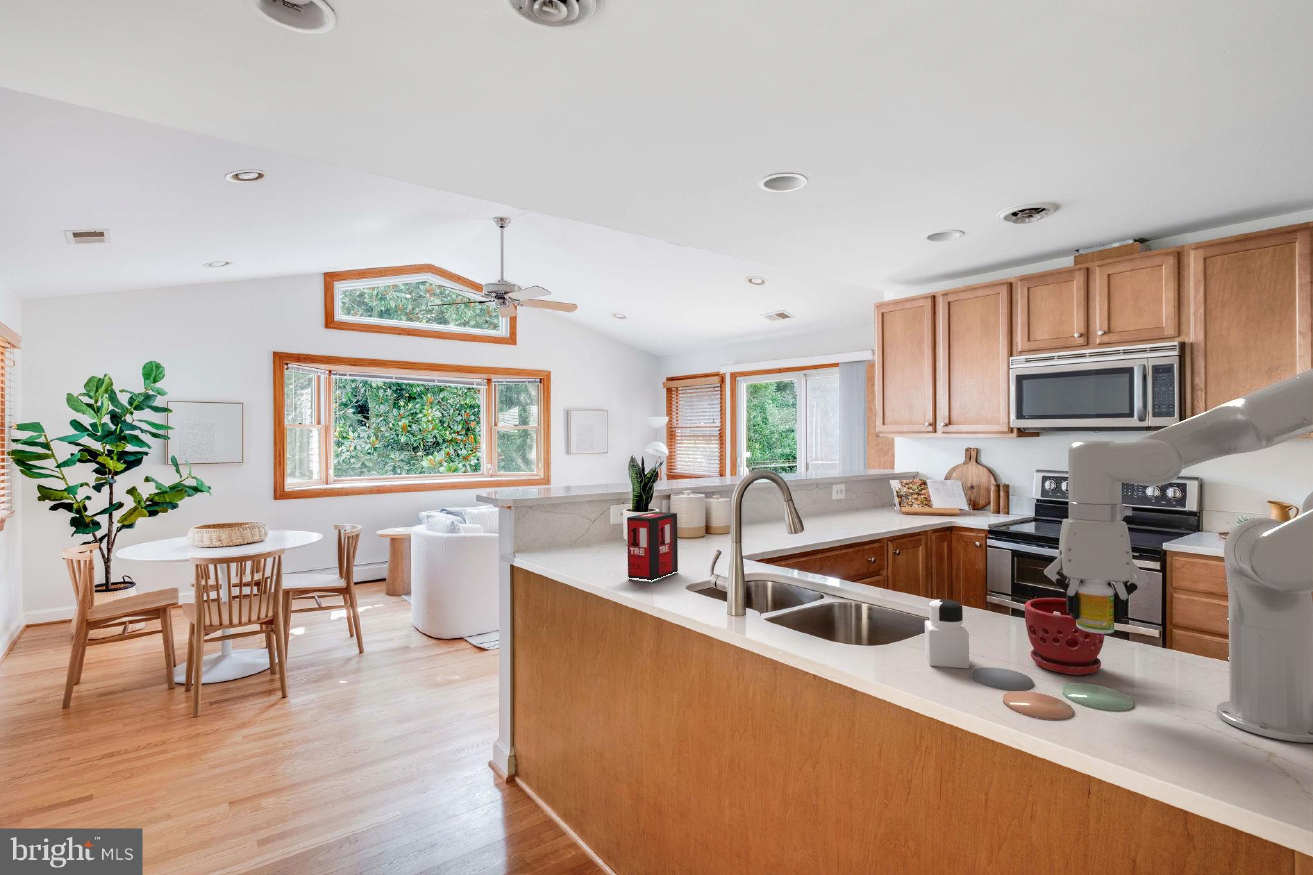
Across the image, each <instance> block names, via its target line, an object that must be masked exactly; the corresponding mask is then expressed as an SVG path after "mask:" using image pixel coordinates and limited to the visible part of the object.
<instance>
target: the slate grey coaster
mask: <svg viewBox="0 0 1313 875" xmlns="http://www.w3.org/2000/svg"><path fill="white" fill-rule="evenodd" d="M971 678H972V679H973V681H975V682H977V683H978V684H979V685H983V686H986V687H989V688H993V689H998V690H1005V691H1027V690H1029V689H1031V688H1032V687H1034V680H1033V679H1032V678H1031V677H1030V676H1028V675H1026V674H1025V673H1022V672H1019V671H1017V670H1012V669H1007V668H1002V667H1001V668H1000V667H979V668H976V669H973V670H972V671H971Z"/></svg>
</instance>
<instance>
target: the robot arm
mask: <svg viewBox="0 0 1313 875" xmlns="http://www.w3.org/2000/svg"><path fill="white" fill-rule="evenodd" d="M1312 432H1313V368H1310V369H1308V370H1307V369H1306V371H1302V372H1299V373H1298V374H1296V375H1293V376H1291V377H1288V378H1285V379H1283V380H1280V381H1277V382H1274V383H1273V384H1270V385H1268V386H1265V387H1263V388H1260V389H1258V390H1255V391H1253V392H1249V393H1248V394H1245V395H1242V396H1240V397H1237V398H1235V399H1233V400H1232V399H1231V400H1229V401H1227V402H1225V403H1222V404H1220V405H1218V406H1216V407H1213V408H1211V409H1209V410H1206V411H1205V412H1202V413H1200V414H1197V415H1194V416H1192V417H1189V418H1187V419H1185V420H1182V421H1179V422H1176V423H1174V424H1172V425H1168V426H1167V427H1164V428H1162V429H1159V430H1156V431H1153V432H1151V433H1148V434H1146V435H1144V436H1141V437H1139V438H1136V439H1134V440H1132V441H1129V442H1128V441H1127V442H1116V441H1112V440H1078V441H1075V442H1072V443H1071V444H1069V447H1068V450H1067V451H1068V452H1067V453H1068V454H1067V455H1068V459H1067V460H1068V464H1067V466H1068V467H1067V470H1068V472H1067V474H1068V476H1067V477H1068V493H1067V495H1068V518H1063V519H1062V522H1061V528H1060V533H1059V534H1060V535H1059V542H1058V544H1059V545H1058V557H1056V559H1054V561H1053V562H1051V564H1049V565H1048V566H1047V567H1046V568H1045V569H1044V570H1043V573H1044V575H1045V576H1047V577H1048V578H1049V579H1050V580H1051V581H1052V582H1054V584H1056V585H1057V586H1059V588H1061V590H1062V591H1064V592H1065V595H1066V598H1065V599H1066V610H1067V613H1070V615H1071V617H1072V618H1073V619H1076V620H1077V619H1079V597H1078V596H1077V595H1076V590H1077V587H1078V585H1079V584H1080V583H1081V581H1083V580H1093V579H1098V580H1104V581H1109V583H1110V584H1111V587H1112V588H1113V590H1114V623H1116V624H1122V618H1125V617H1126V600H1127V599H1128V598H1129V596H1131V595H1132V594H1133V593H1134V592H1136V591H1137V590H1138V588H1140V587H1142V586H1143V585H1145V584H1147V583H1148V582H1149V581H1150V578H1149V576H1147V575H1146V573H1145V572H1144V571H1143V570H1141V569H1140V568H1139V567H1138V566H1137V565H1136V564H1135V563H1134V561H1133V553H1132V547H1131V546H1132V544H1131V539H1130V532H1129V530H1128V529H1129V528H1128V526H1127V522H1125V521H1123V520H1124V518H1125V517H1126V516H1132V515H1133V508H1132V506H1130V507H1129V506H1127V505H1126V506H1125V505H1124V504H1123V501H1122V499H1123V498H1122V483H1125V484H1134V485H1141V486H1148V487H1159V486H1165V485H1168V484H1170V483H1172V482H1174V481H1175V480H1176V479H1177V478H1178V477H1179V476H1180V475H1181V473H1182V472H1183V470H1184V469H1188V468H1189V467H1192V466H1196V465H1198V464H1199V465H1200V464H1202V463H1205V462H1207V461H1212V460H1214V459H1218V458H1223V457H1226V456H1227V457H1228V456H1231V455H1239V454H1246V453H1251V452H1256V451H1260V450H1265V449H1269V448H1272V447H1275V446H1278V445H1279V444H1282V443H1286V442H1287V441H1291V440H1294V439H1296V438H1298V437H1301V436H1304V435H1306V434H1309V433H1312ZM1301 512H1302V513H1301V514H1299V515H1297V516H1295V517H1293V518H1292V519H1291V518H1290V519H1289V520H1288V521H1283V520H1279V519H1274V518H1269V517H1260V518H1253V519H1247V520H1244V521H1242V522H1240V523H1238V524H1237V525H1236V526H1234V527H1233V528H1232V529H1231V530H1230V531H1229V533H1228V534H1227V536H1226V539H1225V542H1224V545H1223V546H1224V547H1223V559H1224V567H1225V575H1226V583H1227V596H1228V597H1227V598H1228V600H1227V601H1228V658H1229V659H1228V661H1229V662H1228V664H1229V665H1228V669H1229V671H1228V672H1229V675H1228V676H1229V680H1228V681H1229V700H1227V701H1223V702H1220V703H1217V705H1216V714H1217V716H1218V717H1219V718H1220V719H1222V721H1224V722H1226V723H1227V724H1229V725H1231V726H1233V727H1236V728H1238V729H1241V730H1244V731H1247V732H1249V733H1251V734H1256V735H1259V736H1263V737H1266V738H1271V739H1275V740H1281V741H1286V742H1294V743H1295V742H1296V743H1306V744H1307V743H1308V744H1309V743H1310V744H1312V743H1313V595H1312V592H1313V491H1311V492H1310V493H1309V494H1308V495H1307V496H1306V498H1305V499H1304V501H1303V504H1302V507H1301ZM1058 571H1059V572H1060V573H1062V574H1063V575H1064V576H1065V577H1066V578H1067V579H1066V581H1065V580H1064V579H1063V578H1061V576H1059V575H1058V574H1057V572H1058ZM1133 575H1134V577H1133ZM1125 582H1126V583H1125ZM1124 583H1125V584H1124Z"/></svg>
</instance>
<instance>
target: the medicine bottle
mask: <svg viewBox="0 0 1313 875" xmlns="http://www.w3.org/2000/svg"><path fill="white" fill-rule="evenodd" d="M928 606H929V608H928V609H929V613H928V614H929V620H926V619H925V620H924V652H925V657H926V658H927V659H926V660H927V661H928V664H929V666H931V667H940V668H941V667H942V668H950V669H953V668H954V669H955V668H956V669H966V670H968V669H969V668H970V636H969V635H970V634H969V631H968V629H967V628H966V627H965V625H964V624H963V621H964V619H963V616H964V615H963V605H962V604H961V603H959V602H958V601H955V600H952V599H940V598H939V599H935V600H932V601H930V602H929V605H928Z"/></svg>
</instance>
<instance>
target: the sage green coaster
mask: <svg viewBox="0 0 1313 875" xmlns="http://www.w3.org/2000/svg"><path fill="white" fill-rule="evenodd" d="M1062 695H1063V696H1064V697H1065V699H1067V700H1068V701H1071V702H1073V703H1075V704H1078V705H1080V704H1081V706H1084V707H1087V708H1090V709H1091V708H1092V709H1095V708H1096V709H1097V710H1100V711H1110V712H1111V711H1112V712H1120V711H1121V712H1122V711H1128V710H1131V709H1132V708H1134V700H1133V699H1132V698H1131V697H1130V696H1128V695H1127V694H1125V693H1123V692H1122V691H1118V690H1116V689H1115V688H1114V689H1113V688H1110V687H1107V686H1103V685H1098V684H1091V683H1083V682H1078V683H1076V682H1074V683H1073V682H1072V683H1068V684H1065V685H1064V686H1062ZM1096 709H1095V710H1096Z"/></svg>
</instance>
